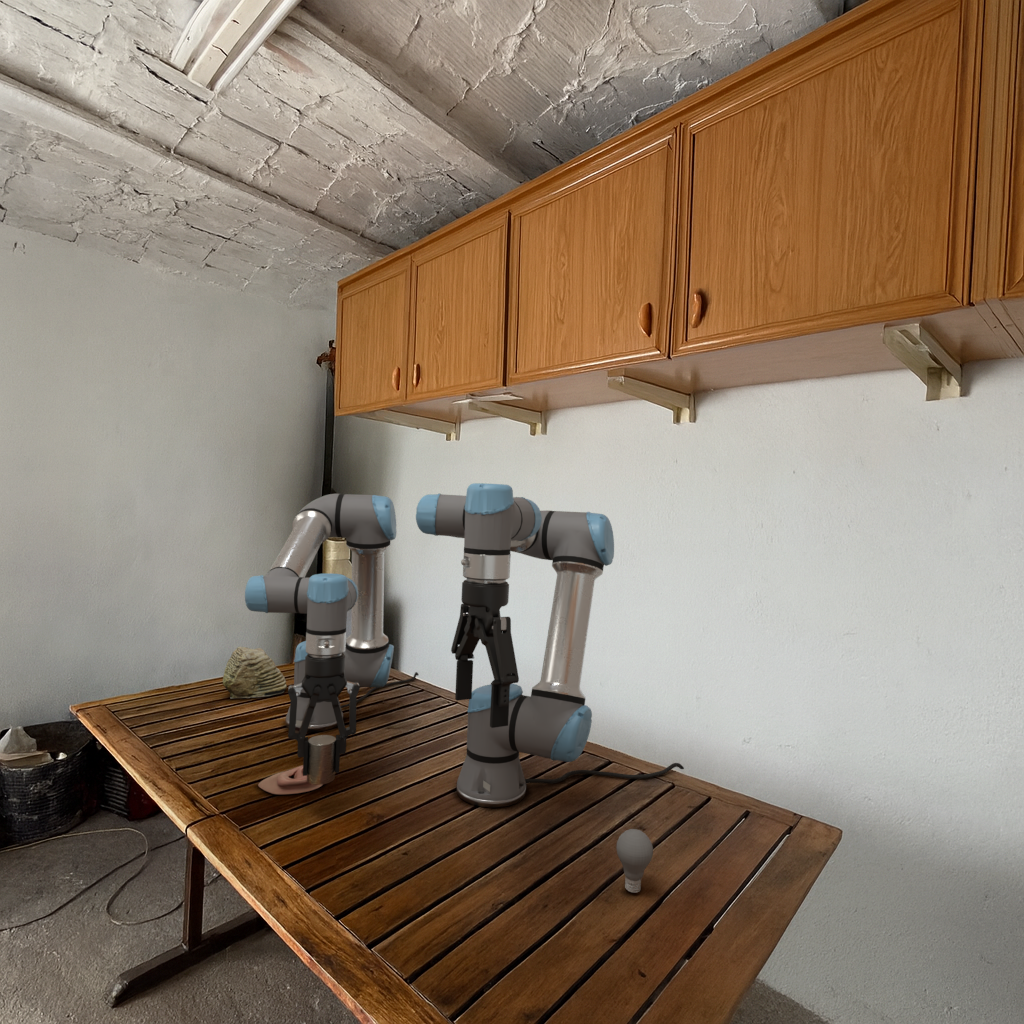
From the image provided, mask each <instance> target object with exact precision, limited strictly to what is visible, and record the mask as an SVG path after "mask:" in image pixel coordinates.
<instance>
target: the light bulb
mask: <svg viewBox="0 0 1024 1024" xmlns="http://www.w3.org/2000/svg"><path fill="white" fill-rule="evenodd" d="M615 849H616V854H617V857H618V859H619V861H620V863H621V865H622V867H623V873H624V874H623V875H624V876H625V878H624V888H625V890H627V891H628V892H630V893H634V894H635V893H639V892H640V891H641V889H642V887H641V886H642V879H643V877H644V875H645V871H646V868H647V867H648V866H649V864H650V863H651V861H652V859H653V855H654V847H653V843H652V841H651V838H649V836H648V835H647V834H646V833H645V832H643V831H642V830H641V829H636V828H629V829H627V830H625V831H623V832H622V833H621V834H620V835H619V837H618V839H617V841H616V847H615Z"/></svg>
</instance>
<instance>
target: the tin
mask: <svg viewBox="0 0 1024 1024" xmlns="http://www.w3.org/2000/svg"><path fill="white" fill-rule="evenodd" d="M335 758H336V736H334V735H330V734H319V735H314V736H312V737H310V738H308V762H307V782H308V783H310V784H315V785H321V784H323V785H326V784H329V783H331V782H333V781H334V780H335V779H336V778H335V777H336V773H335Z"/></svg>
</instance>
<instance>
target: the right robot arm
mask: <svg viewBox="0 0 1024 1024" xmlns="http://www.w3.org/2000/svg"><path fill="white" fill-rule="evenodd" d="M466 488H467V489H466V495H460V494H459V495H458V494H443V493H434V494H431V493H430V494H425V495H423V496H422V497H421V498H420V500H419V501H418V503H417V505H416V510H415V511H416V512H415V521H416V526H417V527H418V529H419V530H420V532H422V533H423V534H426V535H432V536H436V537H438V536H442V537H443V536H444V537H452V538H457V539H464V544H463V545H464V546H463V559H461V560H460V563H461V566H462V576H463V578H465V579H464V580H463V582H461V599H460V600H461V604H460V611H459V618H458V622H457V626H456V629H455V633H454V637H453V639H452V644H451V649H450V652H451V654H454V658H455V661H456V672H455V673H456V674H455V692H454V693H455V694H454V695H455V696H454V700H456V701H465V700H468V704H467V705H468V707H467V709H466V712H467V726H466V727H467V728H466V729H467V730H466V753H465V754H466V755H465V758H464V761H463V764H462V766H461V769H460V772H459V775H458V777H457V780H456V794H457V796H458V797H459V798H460V799H461V800H462V801H464V802H466V803H468V804H470V805H473V806H476V807H481V808H492V809H493V808H505V807H509V806H513V805H515V804H518V803H520V802H521V801H522V800H523V799H524V798H525V796H526V793H527V792H526V791H527V784H547V785H548V784H550V785H553V784H558V783H561V782H563V781H564V780H566V779H567V778H569V777H571V776H574V775H590V776H591V775H592V776H601V777H613V778H620V779H627V780H644V779H652V778H656V777H659V776H664V775H666V774H667V773H669V772H670V771H671V770H673V769H674V768H679V769H680V770H684V769H685V767H684V766H683V765H682V764H681V763H679V762H673V763H671V764H670V765H668V766H667V767H666V768H664V769H662V770H659V771H655V772H651V773H645V774H628V773H627V774H626V773H618V772H612V771H611V772H610V771H600V770H592V769H591V770H590V769H575V770H570V771H568V772H566V773H564V774H563V775H561V776H560V777H557V778H552V779H547V778H525V774H524V771H523V768H522V767H523V766H522V764H521V760H520V753H522V754H527V755H530V756H531V755H532V756H536V757H539V758H544V759H549V760H551V761H553V762H554V761H559V762H566V763H573V762H574V761H576V760H577V759H578V758H579V757H580V756H581V755H582V754H583V751H584V750H585V748H586V745H587V743H588V739H589V737H590V733H591V727H592V722H593V721H592V717H593V712H592V709H591V708H590V706H588V705H585V704H586V696H585V694H584V692H583V691H582V689H581V682H582V674H583V666H584V661H585V653H586V645H587V639H588V633H589V632H588V631H589V625H590V617H591V610H592V605H593V596H594V590H595V583H596V582H595V581H596V580H597V579H598V578H599V577H601V576H602V575H603V573H604V568H605V567H608V566H610V565H611V564H613V559H614V556H615V539H614V531H613V526H612V523H611V520H610V519H609V518H608V516H607V515H605V514H603V513H596V512H590V511H585V512H584V511H567V510H566V511H564V510H549V509H548V510H547V509H546V510H540V508H539V506H538V505H537V504H536V502H534V501H533V500H531V499H528V498H526V497H523V496H520V497H519V496H514V490H513V487H512V485H509V484H503V483H480V482H478V483H477V482H474V483H470V484H469V485H468V487H466ZM511 552H513V553H517V554H522V555H524V556H528V557H532V558H535V559H540V560H546V561H547V560H548V561H551V562H552V563H551V567H552V569H553V570H554V571H555V573H556V580H555V587H554V592H553V593H554V594H553V599H552V606H551V611H550V617H549V624H548V630H547V636H546V643H545V650H544V655H543V662H542V668H541V675H540V680H539V681H538V682H537V683H536V684H535V685H534V686H532V688H531V692H530V695H524V694H523V693H524V691H523V688H522V686H521V685H519V684H518V683H519V680H520V677H519V671H518V666H517V661H516V655H515V653H516V652H515V647H514V642H513V636H512V629H511V628H512V619H511V617H510V616H501V611H500V610H501V608H503V607H506V606H508V604H509V599H510V598H509V597H510V595H509V594H510V584H509V582H508V580H509V579H510V575H511V557H512V556H511V555H512V554H511ZM604 566H605V567H604ZM479 641H480V643H481V644H482V646H484V647H485V650H486V654H487V657H488V661H489V666H490V669H491V672H492V677H493V680H492V681H491V682H490V684H486V685H482V686H479V687H477V688H475V689H474V690H473V678H474V677H473V676H474V675H473V673H474V660H473V659H475V656H474V652H475V650H476V649H477V645H478V643H479Z"/></svg>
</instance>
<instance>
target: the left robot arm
mask: <svg viewBox="0 0 1024 1024" xmlns="http://www.w3.org/2000/svg"><path fill="white" fill-rule="evenodd" d="M396 517H397V516H396V509H395V505H394V502H393V500H392V499H391V498H390V497H388V496H384V495H377V494H352V493H351V494H350V493H348V494H347V493H330V494H325V495H323V496H320V497H317V498H316V499H314V500H312V501H310V502H309V503H307V504H306V505H305V506H303V507H302V508H301V509H300V510H299V511H298V512H297V513H296V515H295V516H294V519H293V521H292V531H290V534H289V536H288V537H287V539H286V540H285V543H284V544H283V545H282V548H281V549H280V551H279V554H278V555H277V556H276V558H275V560H274V562H273V563H272V565H271V566H270V568H269V570H268V571H267V574H266V575H263V574H260V575H253V576H250V577H249V578H248V580H247V582H246V585H245V590H244V603H245V606H246V608H247V609H248V610H249V611H251V612H259V613H265V614H269V613H271V614H272V613H273V614H275V613H276V614H282V613H283V614H306V632H305V640H304V641H302V642H300V643H298V644H297V645H296V648H295V655H294V659H293V662H294V672H293V684H290V685H288V686H287V687H288V688H287V693H288V697H289V700H290V704H289V708H288V711H287V713H286V715H285V726H286V728H287V729H288V732H287V734H288V735H287V736H288V739H289V740H295V741H296V742H297V753H296V755H297V757H298V759H299V758H302V759H303V760H302V765H303V776H307V762H308V740H309V736H307V733H316V732H325V731H329V730H332V729H335V728H337V729H338V733H339V734H335V738H336V758H335V774H339V773H340V766H341V765H340V763H341V755H345V754H346V752H347V738H348V737H349V736H354V735H356V734H357V703H359V702H361V701H363V700H364V699H365V698H367V697H368V696H369V695H370V694H371V693H372V692H374V691H376V690H379V689H381V688H386V687H389V686H393V685H399V684H403V683H404V684H405V683H409V682H412V681H414V680H415V679H416V678H417V676H419V672H417V671H416V672H414V674H413V677H411V678H408V679H403V680H397V681H392V682H388V681H389V678H390V673H391V668H392V663H393V658H394V653H395V652H394V650H395V649H394V648H395V645H393V644H391V643H389V637H388V635H386V634H385V633H384V605H385V604H384V602H385V601H384V599H385V594H384V593H385V552H386V551H387V549H388V548H389V547H390V546H391V541H393V540H395V539H396V537H397V518H396ZM329 538H339V539H340V538H344V539H345V541H346V543H345V545H346V547H347V548H348V549H349V550H350V551H351V578H349V577H348V576H346V575H344V574H341V573H316V574H312V575H311V576H310V577H306V576H307V574H308V571H309V570H310V568H311V565H312V563H313V561H314V560H315V558H316V555H317V553H318V551H319V549H320V547H321V545H322V544H323V543H325V542H326V541H327V540H328V539H329ZM349 611H351V626H350V627H351V630H350V631H351V632H350V633H351V634H349V635H348V636H347V620H348V619H347V618H348V612H349ZM345 688H346V692H347V693H348V694H349V696H348V697H349V700H348V701H349V703H346V704H341V702H340V699H339V696H340V694H341V693H342V692H343V690H345ZM361 688H369V690H368V691H367V692H366V694H364V695H363V696H361V697H360V698H357V697H358V694H359V692H360V689H361ZM345 708H348V709H349V710H348V726H347V727H346V725H345V722H344V713H343V709H345Z"/></svg>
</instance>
